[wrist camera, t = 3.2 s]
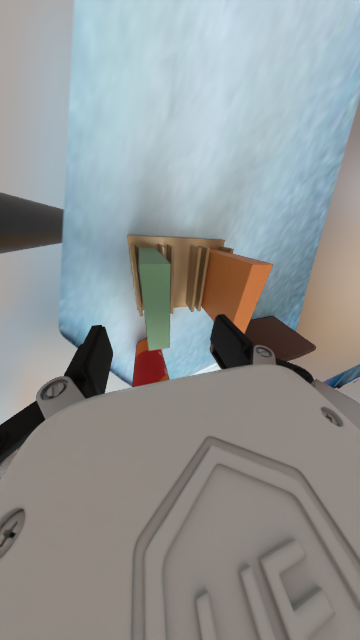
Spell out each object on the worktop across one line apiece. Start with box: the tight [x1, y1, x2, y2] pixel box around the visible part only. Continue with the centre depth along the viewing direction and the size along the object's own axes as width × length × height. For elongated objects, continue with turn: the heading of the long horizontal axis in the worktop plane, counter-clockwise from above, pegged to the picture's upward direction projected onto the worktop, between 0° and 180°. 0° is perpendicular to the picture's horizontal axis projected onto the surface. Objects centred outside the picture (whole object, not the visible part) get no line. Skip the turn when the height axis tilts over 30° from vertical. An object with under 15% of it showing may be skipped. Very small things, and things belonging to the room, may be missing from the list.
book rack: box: [127, 235, 234, 316], centre depth 24 cm, size 17×13×5 cm
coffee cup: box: [132, 339, 170, 387], centre depth 28 cm, size 8×8×15 cm
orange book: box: [201, 249, 273, 334], centre depth 22 cm, size 3×10×13 cm, turn 176°
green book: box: [139, 247, 171, 351], centre depth 19 cm, size 3×10×13 cm, turn 176°
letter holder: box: [210, 316, 316, 370], centre depth 36 cm, size 10×20×14 cm, turn 90°
